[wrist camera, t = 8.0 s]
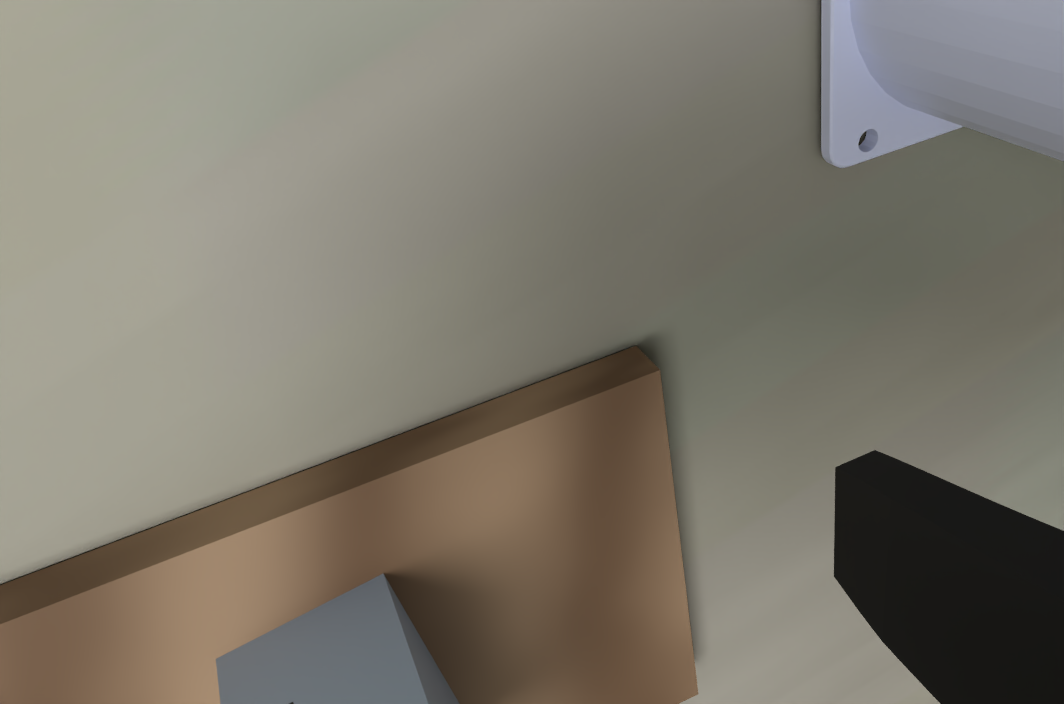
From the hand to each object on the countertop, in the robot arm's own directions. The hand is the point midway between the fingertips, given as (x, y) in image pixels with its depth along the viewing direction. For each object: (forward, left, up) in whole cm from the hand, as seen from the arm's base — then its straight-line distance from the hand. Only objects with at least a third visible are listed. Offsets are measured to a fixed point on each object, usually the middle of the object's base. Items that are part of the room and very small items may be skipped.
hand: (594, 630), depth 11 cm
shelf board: (+3, +9, -9) cm, 13 cm away
